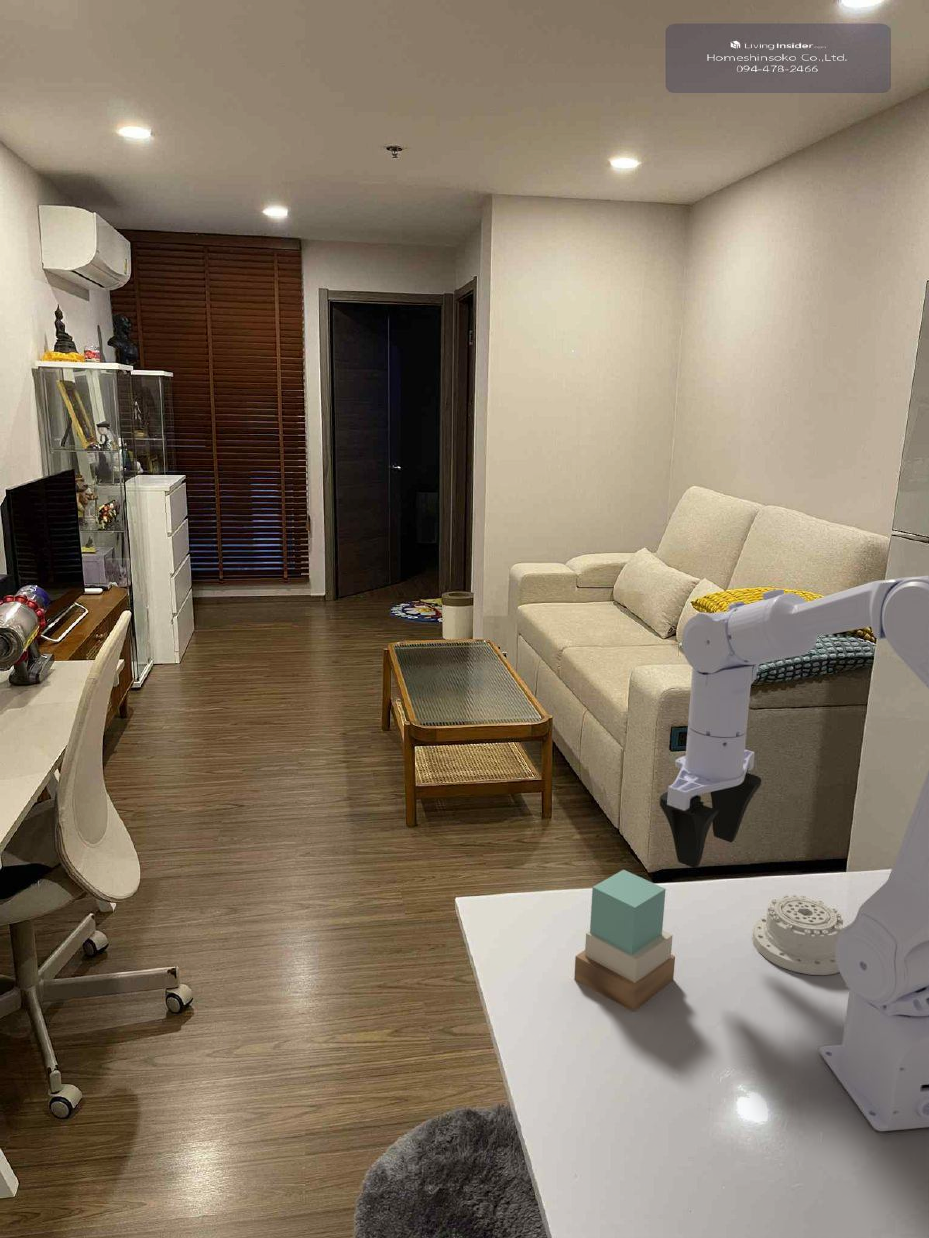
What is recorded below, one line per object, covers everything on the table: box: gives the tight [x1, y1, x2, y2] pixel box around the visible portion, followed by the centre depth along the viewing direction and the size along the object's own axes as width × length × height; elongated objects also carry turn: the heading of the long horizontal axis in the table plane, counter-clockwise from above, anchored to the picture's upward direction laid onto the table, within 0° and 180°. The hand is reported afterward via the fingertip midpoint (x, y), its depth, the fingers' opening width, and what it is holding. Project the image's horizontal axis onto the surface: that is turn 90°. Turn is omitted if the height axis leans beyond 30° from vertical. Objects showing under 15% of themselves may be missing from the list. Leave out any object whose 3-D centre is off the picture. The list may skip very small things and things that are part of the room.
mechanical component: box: [751, 894, 844, 976], centre depth 98 cm, size 10×4×10 cm
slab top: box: [584, 929, 673, 983], centre depth 92 cm, size 6×6×2 cm
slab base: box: [573, 949, 676, 1012], centre depth 93 cm, size 7×7×3 cm
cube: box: [589, 869, 667, 955], centre depth 91 cm, size 5×5×5 cm
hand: (706, 850), depth 97 cm, fingers open, 7 cm apart
